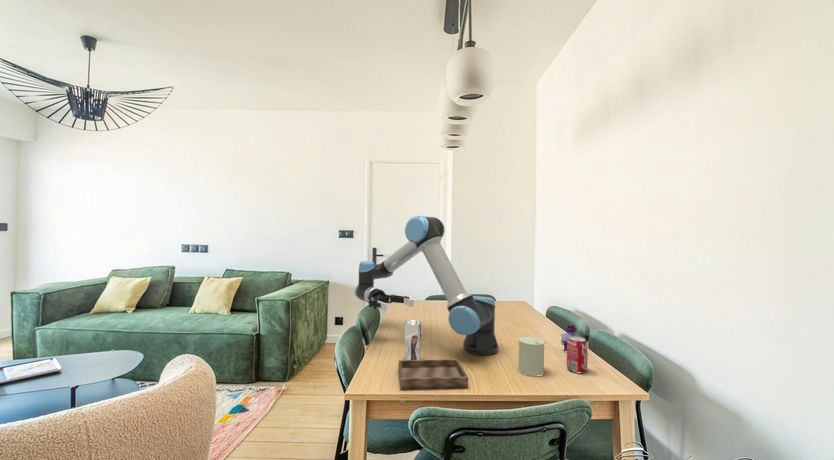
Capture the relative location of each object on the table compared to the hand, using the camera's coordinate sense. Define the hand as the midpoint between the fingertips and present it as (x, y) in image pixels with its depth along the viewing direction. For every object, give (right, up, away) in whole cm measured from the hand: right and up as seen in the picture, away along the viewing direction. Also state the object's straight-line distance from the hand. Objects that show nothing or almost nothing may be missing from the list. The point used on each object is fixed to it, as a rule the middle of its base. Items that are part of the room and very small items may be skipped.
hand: (399, 305), depth 140 cm
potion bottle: (+74, -22, +5) cm, 78 cm away
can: (+50, -21, -17) cm, 56 cm away
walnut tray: (+12, -20, -25) cm, 34 cm away
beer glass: (+5, -20, -8) cm, 22 cm away
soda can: (+67, -21, -15) cm, 72 cm away
